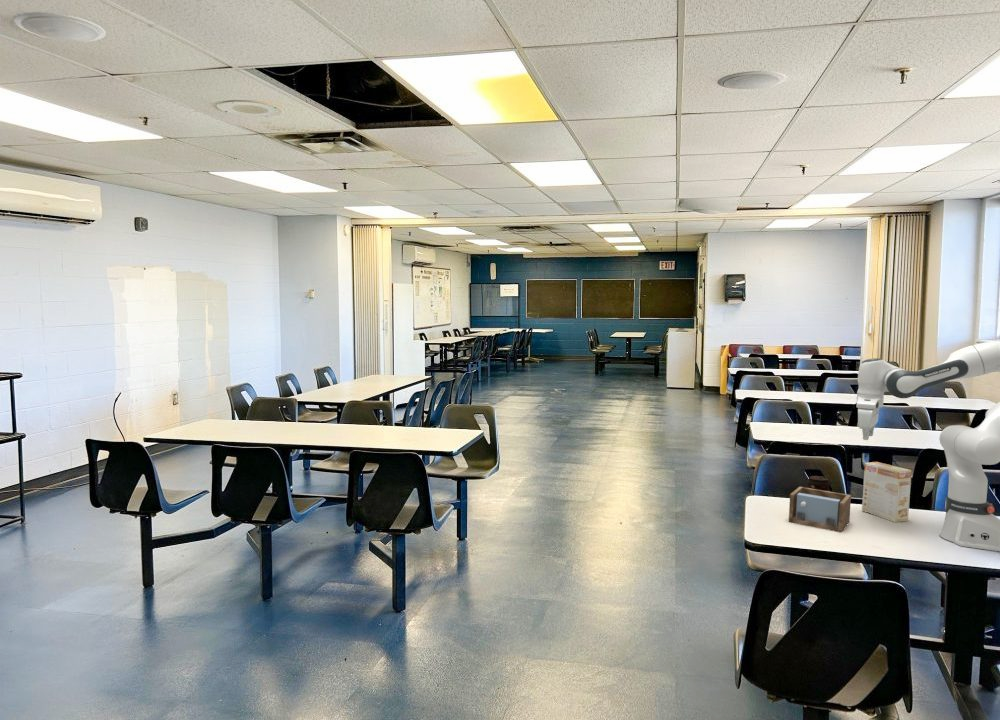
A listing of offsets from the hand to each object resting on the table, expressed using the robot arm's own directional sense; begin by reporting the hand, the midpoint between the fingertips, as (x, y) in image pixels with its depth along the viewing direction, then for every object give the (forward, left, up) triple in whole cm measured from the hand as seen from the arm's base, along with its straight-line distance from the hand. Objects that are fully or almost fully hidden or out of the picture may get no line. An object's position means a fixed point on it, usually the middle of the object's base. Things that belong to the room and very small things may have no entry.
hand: (867, 437), depth 257 cm
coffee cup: (+16, +1, -31) cm, 35 cm away
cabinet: (+12, +17, -31) cm, 37 cm away
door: (+12, +21, -29) cm, 38 cm away
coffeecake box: (-6, -8, -31) cm, 33 cm away
